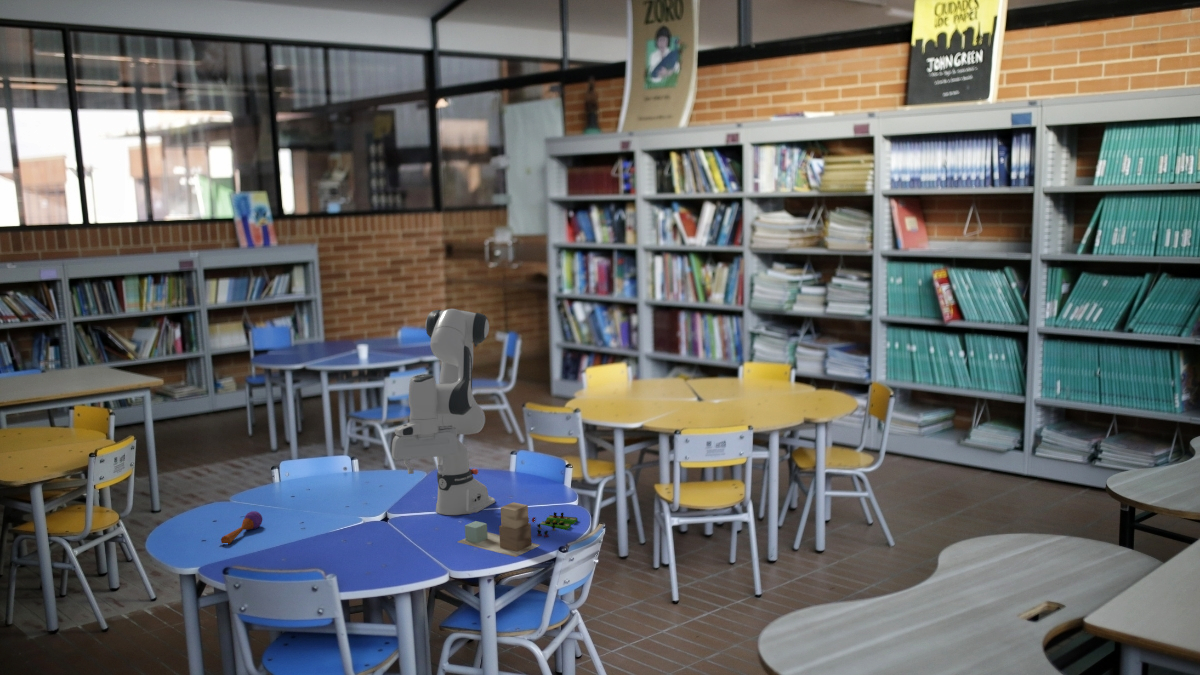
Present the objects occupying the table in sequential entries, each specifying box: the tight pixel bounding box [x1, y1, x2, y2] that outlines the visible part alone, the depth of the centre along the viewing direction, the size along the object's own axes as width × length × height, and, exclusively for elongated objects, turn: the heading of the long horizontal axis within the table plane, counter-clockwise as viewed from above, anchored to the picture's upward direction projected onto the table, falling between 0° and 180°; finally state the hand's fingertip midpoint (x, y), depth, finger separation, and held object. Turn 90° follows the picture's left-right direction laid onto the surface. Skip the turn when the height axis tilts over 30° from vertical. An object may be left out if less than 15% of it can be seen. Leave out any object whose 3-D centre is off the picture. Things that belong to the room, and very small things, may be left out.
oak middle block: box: [500, 502, 530, 529], centre depth 305 cm, size 6×6×6 cm
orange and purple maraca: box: [220, 510, 263, 545], centre depth 330 cm, size 6×6×20 cm
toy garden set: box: [528, 511, 579, 538], centre depth 326 cm, size 23×19×5 cm
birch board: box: [457, 531, 541, 558], centre depth 310 cm, size 12×25×2 cm, turn 54°
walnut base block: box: [498, 522, 533, 552], centre depth 306 cm, size 7×7×7 cm
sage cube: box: [464, 520, 488, 543], centre depth 314 cm, size 5×5×5 cm
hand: (425, 472), depth 302 cm, fingers open, 8 cm apart
